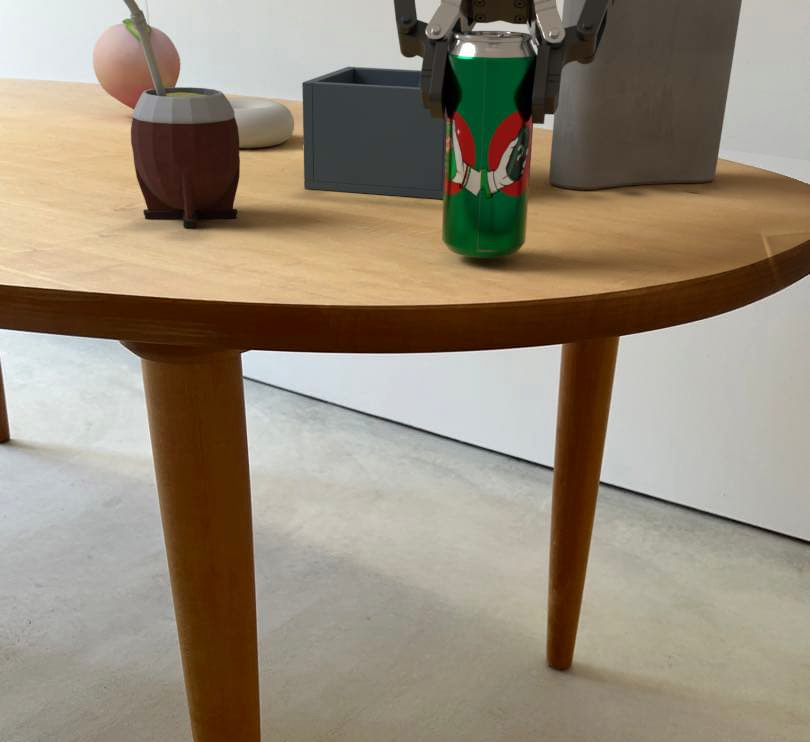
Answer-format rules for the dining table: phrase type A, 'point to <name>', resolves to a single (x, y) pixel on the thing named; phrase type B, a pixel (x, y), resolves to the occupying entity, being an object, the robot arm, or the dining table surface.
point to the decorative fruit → (133, 62)
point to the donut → (261, 122)
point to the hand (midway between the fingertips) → (487, 111)
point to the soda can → (488, 142)
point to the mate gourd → (183, 146)
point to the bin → (371, 134)
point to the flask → (646, 96)
